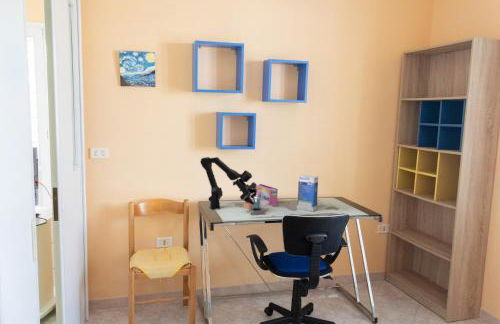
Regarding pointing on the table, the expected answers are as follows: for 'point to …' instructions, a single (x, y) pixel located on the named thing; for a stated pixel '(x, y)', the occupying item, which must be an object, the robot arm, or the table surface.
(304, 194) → the string lights box
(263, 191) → the gum box
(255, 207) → the battery
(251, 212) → the tray
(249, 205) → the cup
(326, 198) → the table surface
